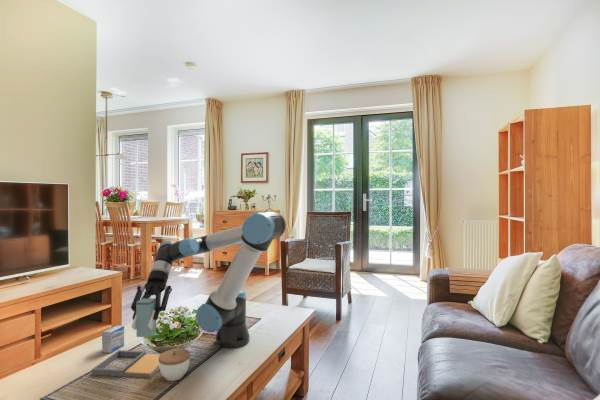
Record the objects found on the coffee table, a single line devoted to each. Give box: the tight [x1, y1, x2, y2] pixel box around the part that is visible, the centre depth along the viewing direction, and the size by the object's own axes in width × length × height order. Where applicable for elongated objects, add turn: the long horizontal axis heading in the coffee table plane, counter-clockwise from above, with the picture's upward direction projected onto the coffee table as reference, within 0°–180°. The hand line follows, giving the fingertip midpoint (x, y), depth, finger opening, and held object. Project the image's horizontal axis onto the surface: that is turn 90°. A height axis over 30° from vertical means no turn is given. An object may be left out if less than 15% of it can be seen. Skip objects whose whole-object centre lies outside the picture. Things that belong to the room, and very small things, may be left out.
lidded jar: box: [159, 348, 191, 382], centre depth 123 cm, size 11×11×9 cm
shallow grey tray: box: [91, 349, 147, 377], centre depth 131 cm, size 12×16×2 cm
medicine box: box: [101, 324, 125, 354], centre depth 145 cm, size 8×4×9 cm, turn 168°
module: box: [136, 297, 157, 338], centre depth 130 cm, size 5×5×13 cm
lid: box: [121, 353, 161, 379], centre depth 130 cm, size 11×16×1 cm
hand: (141, 327), depth 126 cm, fingers closed on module, 5 cm apart
